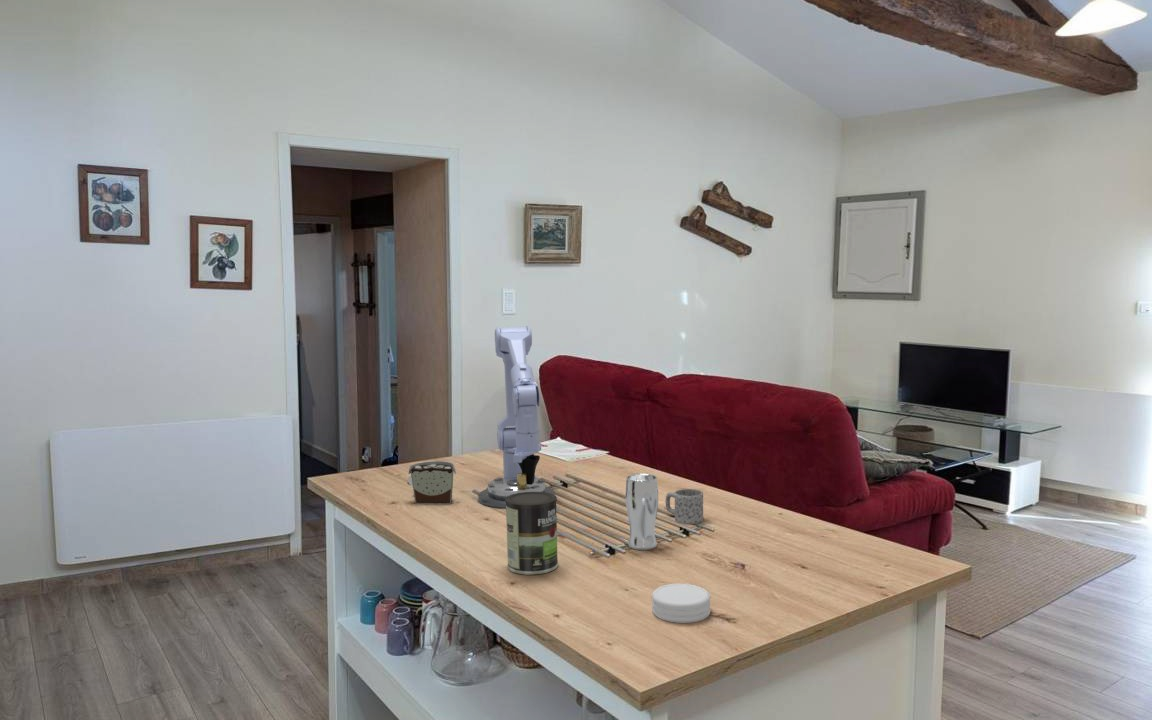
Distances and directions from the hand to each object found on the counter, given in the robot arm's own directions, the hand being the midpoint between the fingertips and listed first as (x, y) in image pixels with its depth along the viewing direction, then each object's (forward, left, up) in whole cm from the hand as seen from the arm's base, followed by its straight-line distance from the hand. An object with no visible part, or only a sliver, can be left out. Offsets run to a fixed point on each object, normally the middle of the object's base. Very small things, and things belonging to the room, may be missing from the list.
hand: (528, 483), depth 215 cm
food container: (+6, -24, -5) cm, 25 cm away
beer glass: (+23, +38, -5) cm, 45 cm away
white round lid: (+54, +55, -5) cm, 78 cm away
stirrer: (-3, -35, -5) cm, 36 cm away
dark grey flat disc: (-3, -5, -5) cm, 7 cm away
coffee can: (+42, +21, -5) cm, 48 cm away
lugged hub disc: (-3, -5, -4) cm, 7 cm away
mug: (+1, +41, -5) cm, 41 cm away
